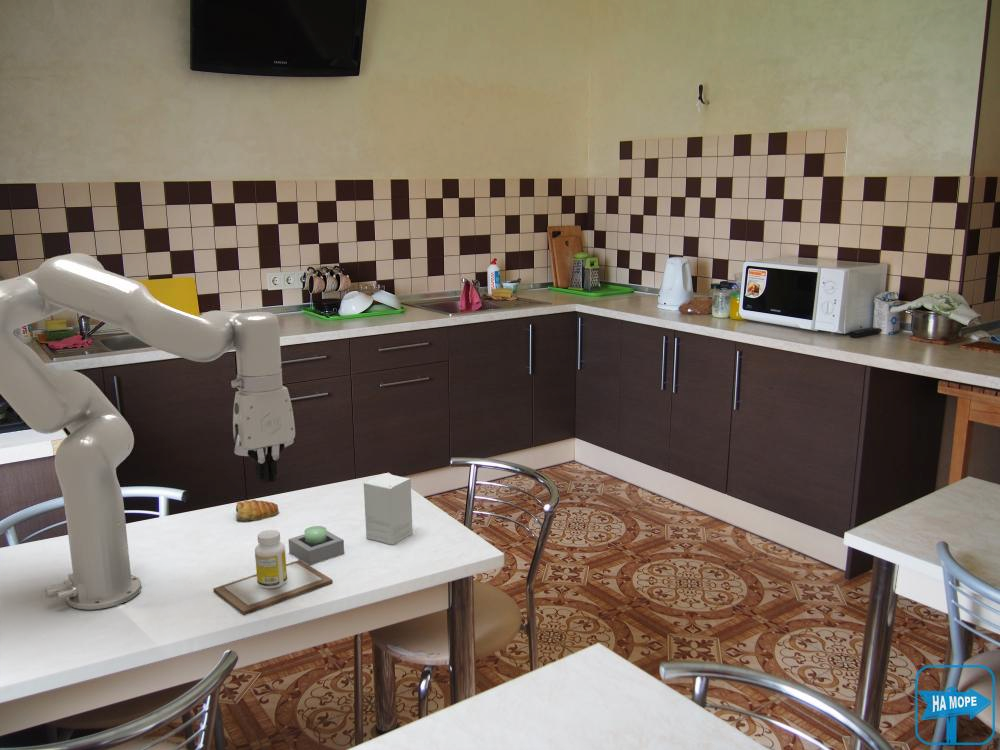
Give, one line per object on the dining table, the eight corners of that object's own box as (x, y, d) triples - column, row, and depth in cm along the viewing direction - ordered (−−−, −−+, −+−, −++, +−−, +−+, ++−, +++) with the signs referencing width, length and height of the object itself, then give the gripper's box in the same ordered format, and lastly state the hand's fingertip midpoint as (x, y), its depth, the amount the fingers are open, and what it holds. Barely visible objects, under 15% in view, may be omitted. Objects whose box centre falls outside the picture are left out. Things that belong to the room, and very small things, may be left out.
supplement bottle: (275, 573, 164) (272, 525, 162) (293, 582, 160) (290, 533, 158) (251, 584, 160) (247, 534, 158) (269, 592, 156) (265, 542, 154)
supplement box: (413, 534, 185) (412, 478, 182) (391, 546, 179) (389, 488, 176) (387, 526, 189) (385, 472, 186) (364, 538, 183) (362, 482, 180)
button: (312, 545, 172) (311, 536, 171) (300, 539, 175) (300, 530, 174) (331, 539, 175) (330, 530, 174) (319, 533, 178) (319, 524, 177)
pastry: (276, 508, 200) (275, 492, 199) (280, 518, 194) (279, 502, 193) (234, 514, 197) (233, 498, 196) (237, 524, 191) (236, 508, 190)
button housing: (309, 565, 170) (308, 551, 169) (289, 552, 176) (288, 539, 175) (344, 553, 175) (343, 539, 174) (323, 541, 181) (322, 528, 180)
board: (243, 615, 150) (243, 610, 150) (213, 592, 159) (213, 587, 158) (332, 583, 162) (332, 578, 162) (300, 563, 171) (299, 558, 170)
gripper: (229, 393, 144) (237, 496, 148) (309, 379, 154) (314, 476, 158) (210, 385, 149) (217, 485, 153) (288, 372, 159) (293, 467, 163)
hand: (266, 480), depth 156 cm, fingers closed
